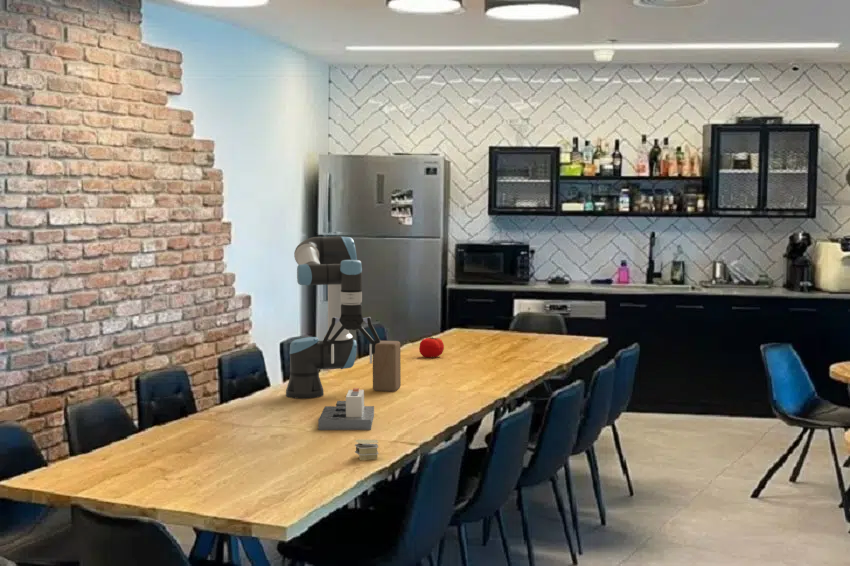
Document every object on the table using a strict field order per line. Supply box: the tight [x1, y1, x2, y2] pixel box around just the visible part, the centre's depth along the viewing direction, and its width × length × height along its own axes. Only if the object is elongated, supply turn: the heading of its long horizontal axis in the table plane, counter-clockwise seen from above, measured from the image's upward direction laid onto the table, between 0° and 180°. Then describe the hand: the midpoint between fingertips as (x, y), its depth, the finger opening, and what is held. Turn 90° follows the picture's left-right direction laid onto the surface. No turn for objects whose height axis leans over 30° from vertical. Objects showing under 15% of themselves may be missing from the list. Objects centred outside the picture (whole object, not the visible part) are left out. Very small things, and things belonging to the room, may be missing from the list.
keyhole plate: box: [317, 405, 375, 431], centre depth 370 cm, size 18×24×4 cm
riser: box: [335, 400, 346, 406], centre depth 391 cm, size 5×6×3 cm
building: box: [354, 438, 379, 461], centre depth 319 cm, size 10×9×6 cm
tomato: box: [418, 337, 445, 358], centre depth 525 cm, size 11×13×10 cm
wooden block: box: [372, 340, 402, 392], centre depth 435 cm, size 10×10×20 cm
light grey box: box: [345, 387, 365, 417], centre depth 370 cm, size 6×14×11 cm, turn 0°
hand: (351, 363), depth 371 cm, fingers open, 13 cm apart
